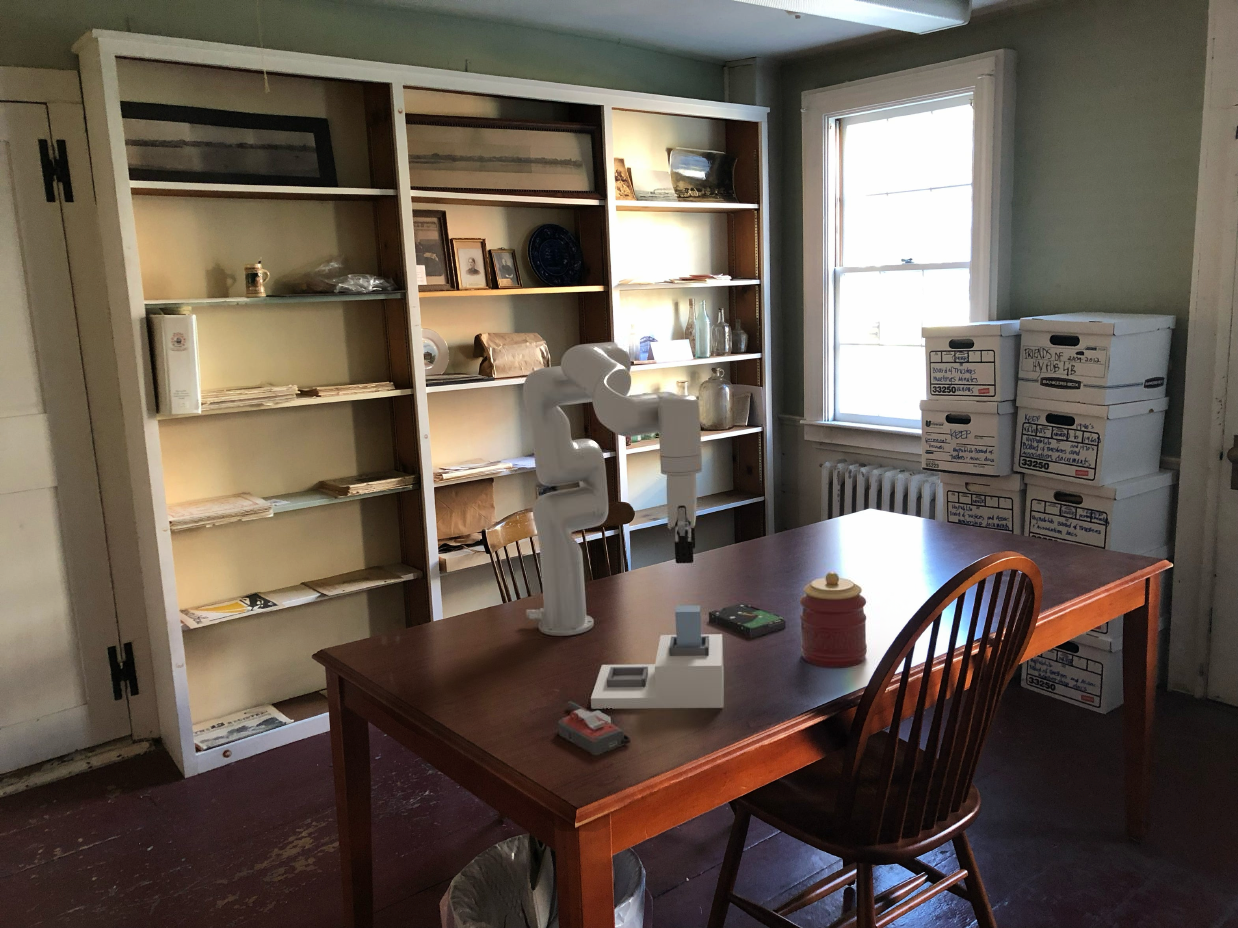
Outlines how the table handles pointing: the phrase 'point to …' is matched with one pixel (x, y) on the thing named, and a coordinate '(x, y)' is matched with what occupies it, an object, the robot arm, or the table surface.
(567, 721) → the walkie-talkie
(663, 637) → the dock
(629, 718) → the table surface
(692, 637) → the plug
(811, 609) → the canister
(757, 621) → the disk drive
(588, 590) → the table surface
